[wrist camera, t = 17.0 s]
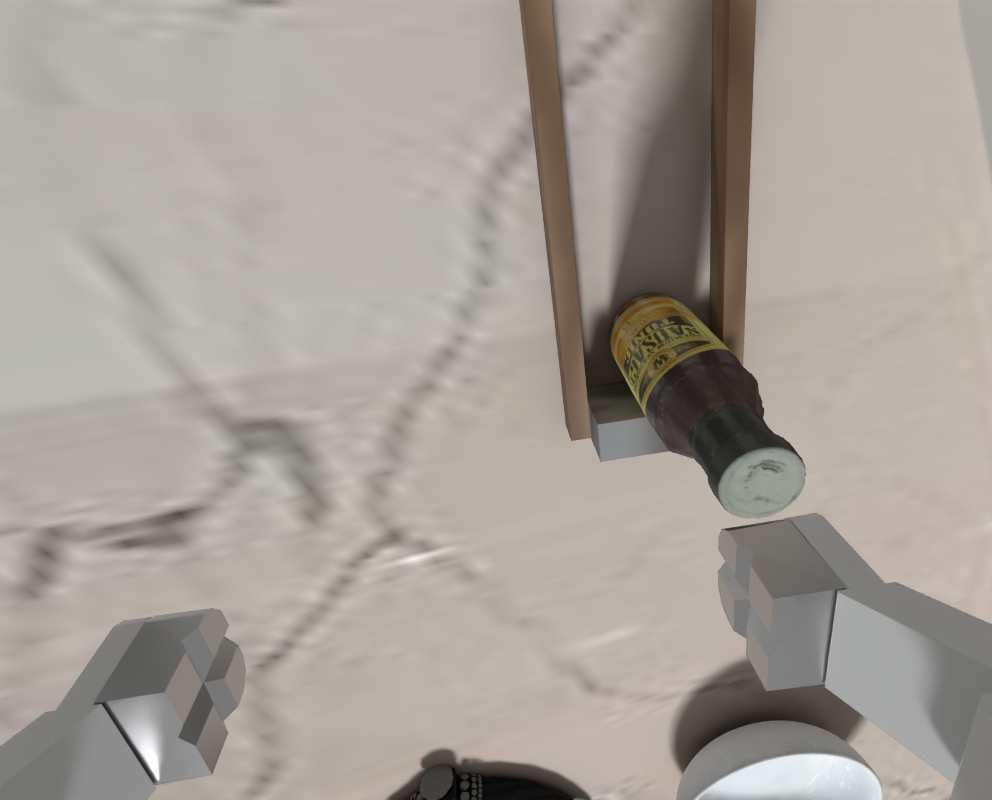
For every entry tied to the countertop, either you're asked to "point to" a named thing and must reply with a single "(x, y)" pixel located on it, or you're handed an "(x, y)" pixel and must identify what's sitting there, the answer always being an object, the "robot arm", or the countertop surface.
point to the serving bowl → (778, 766)
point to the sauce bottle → (704, 405)
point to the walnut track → (614, 407)
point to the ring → (479, 787)
